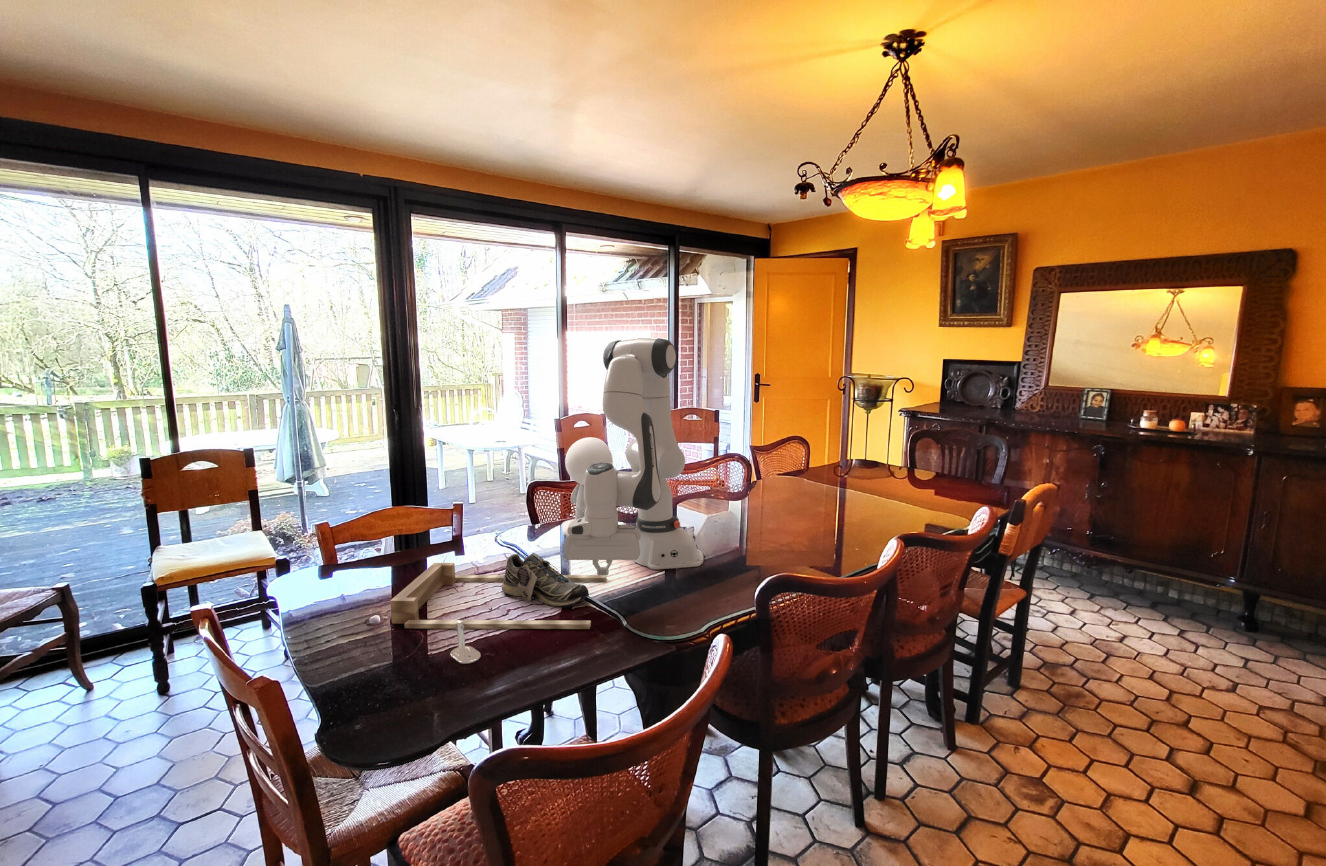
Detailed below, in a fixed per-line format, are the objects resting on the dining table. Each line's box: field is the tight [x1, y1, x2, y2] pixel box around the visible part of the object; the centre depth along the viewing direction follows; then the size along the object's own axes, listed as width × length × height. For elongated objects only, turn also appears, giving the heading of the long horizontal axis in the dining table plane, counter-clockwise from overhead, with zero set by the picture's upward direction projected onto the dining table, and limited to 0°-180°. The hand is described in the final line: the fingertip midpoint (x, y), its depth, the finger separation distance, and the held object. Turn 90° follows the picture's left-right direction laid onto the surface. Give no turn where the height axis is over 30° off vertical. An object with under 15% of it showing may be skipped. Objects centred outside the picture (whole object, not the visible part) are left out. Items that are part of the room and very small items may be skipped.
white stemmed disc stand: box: [450, 621, 481, 665], centre depth 130 cm, size 8×5×8 cm
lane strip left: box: [403, 619, 592, 630], centre depth 143 cm, size 46×2×1 cm, turn 88°
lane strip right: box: [455, 574, 607, 583], centre depth 172 cm, size 46×2×1 cm, turn 88°
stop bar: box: [389, 562, 456, 624], centre depth 158 cm, size 6×26×6 cm, turn 178°
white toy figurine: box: [561, 436, 614, 537], centre depth 219 cm, size 20×23×35 cm
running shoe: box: [501, 552, 590, 609], centre depth 159 cm, size 12×28×12 cm, turn 67°
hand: (602, 574), depth 156 cm, fingers closed
